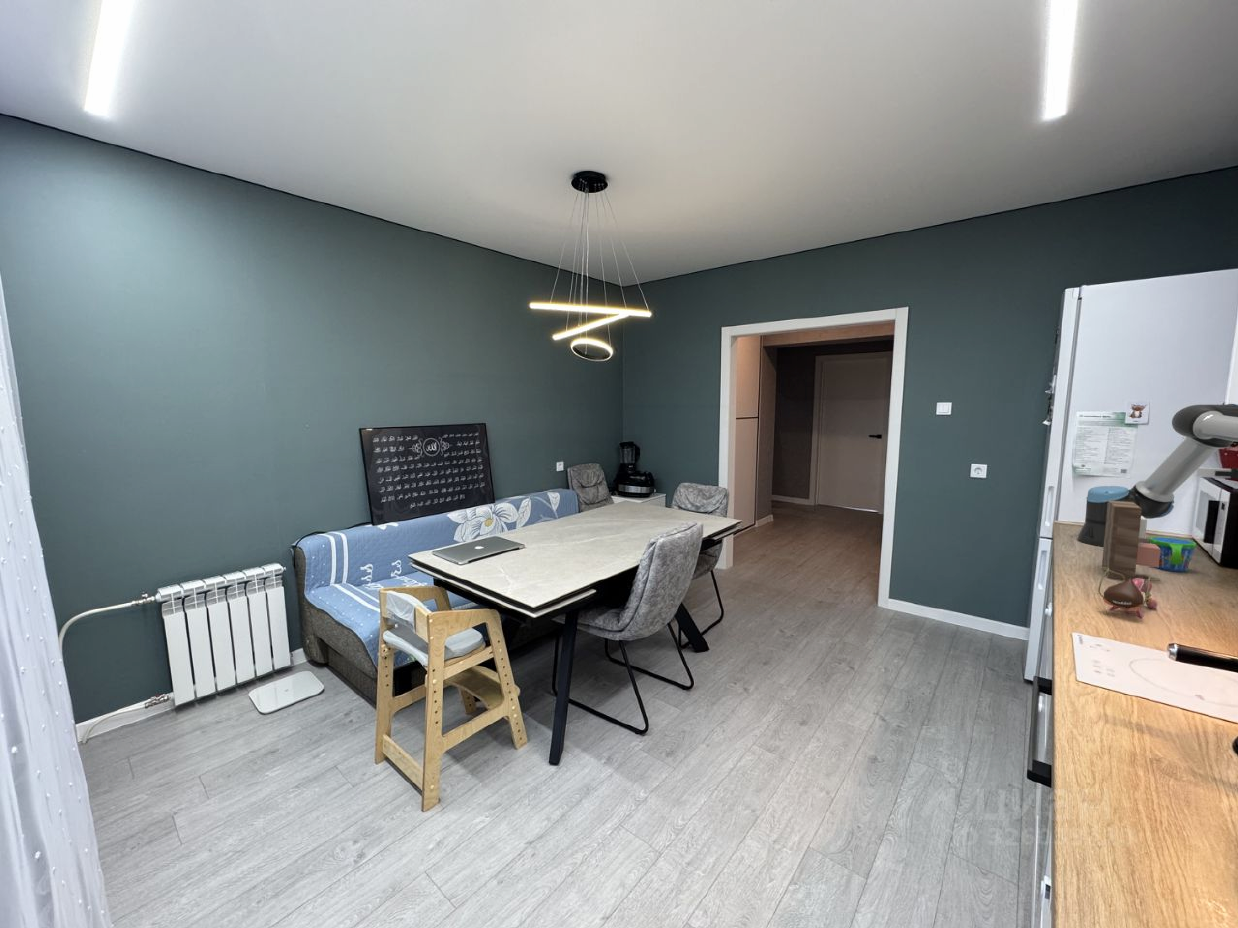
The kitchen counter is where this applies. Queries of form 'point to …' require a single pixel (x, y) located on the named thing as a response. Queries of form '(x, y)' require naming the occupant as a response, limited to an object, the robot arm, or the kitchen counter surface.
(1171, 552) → the snack cup
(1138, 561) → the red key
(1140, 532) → the white key
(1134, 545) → the key panel
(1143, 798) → the kitchen counter surface
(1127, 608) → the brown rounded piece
